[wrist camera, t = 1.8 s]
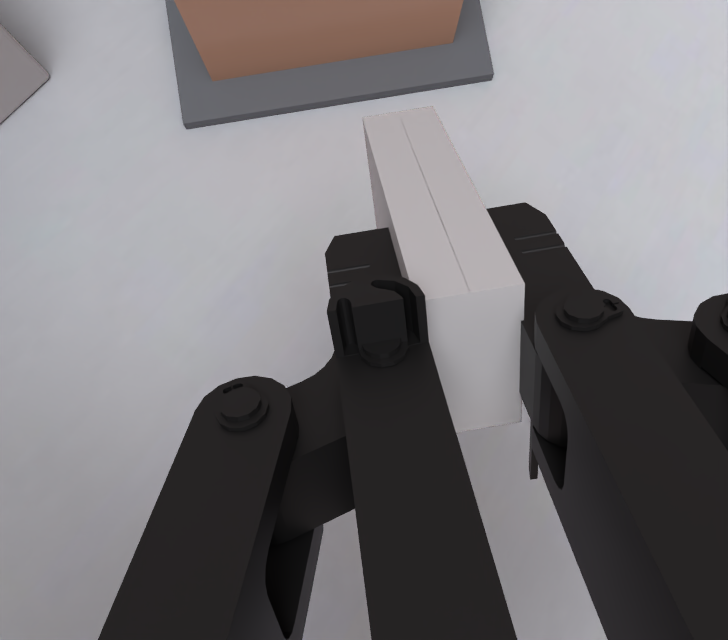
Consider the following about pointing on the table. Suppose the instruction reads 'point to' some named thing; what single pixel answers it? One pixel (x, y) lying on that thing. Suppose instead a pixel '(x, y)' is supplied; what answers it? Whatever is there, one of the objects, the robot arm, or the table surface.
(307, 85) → the mat
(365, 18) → the tile
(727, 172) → the table surface
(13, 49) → the soap bottle
